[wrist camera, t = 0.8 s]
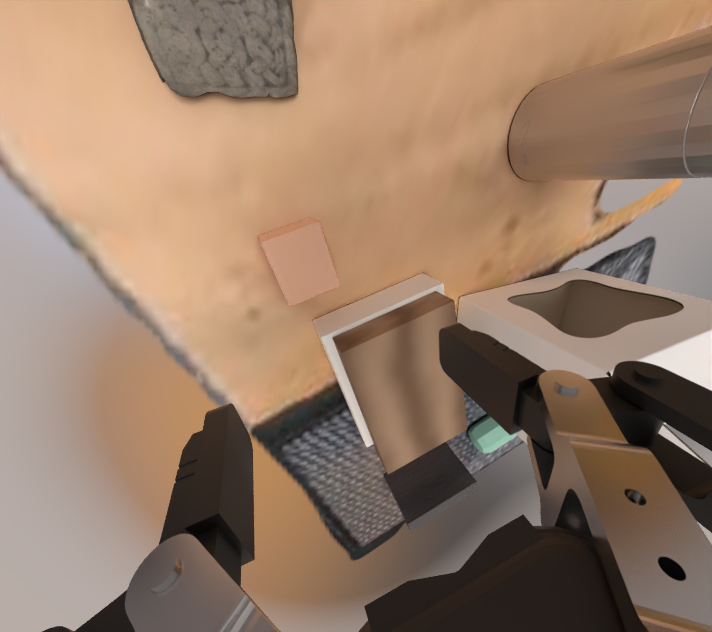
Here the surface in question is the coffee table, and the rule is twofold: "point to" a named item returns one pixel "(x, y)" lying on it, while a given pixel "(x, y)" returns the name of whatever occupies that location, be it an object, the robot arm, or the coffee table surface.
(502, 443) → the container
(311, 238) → the support block
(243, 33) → the stone slab
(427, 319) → the plank
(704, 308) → the gable box
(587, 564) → the robot arm
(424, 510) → the block
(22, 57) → the coffee table surface
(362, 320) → the riser
